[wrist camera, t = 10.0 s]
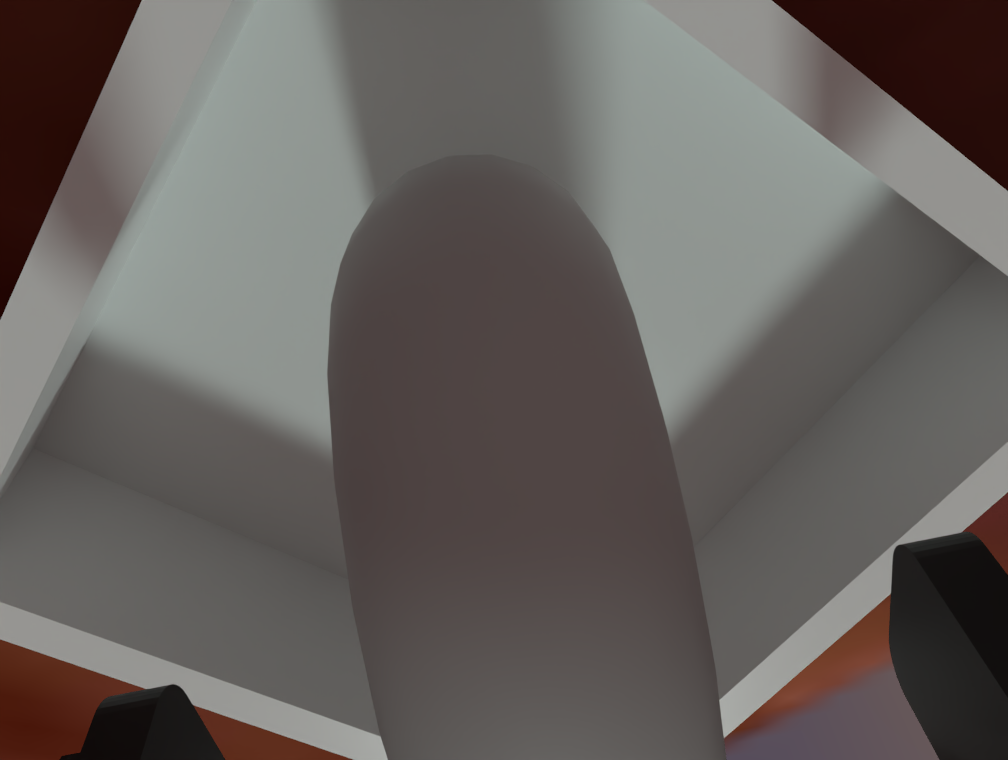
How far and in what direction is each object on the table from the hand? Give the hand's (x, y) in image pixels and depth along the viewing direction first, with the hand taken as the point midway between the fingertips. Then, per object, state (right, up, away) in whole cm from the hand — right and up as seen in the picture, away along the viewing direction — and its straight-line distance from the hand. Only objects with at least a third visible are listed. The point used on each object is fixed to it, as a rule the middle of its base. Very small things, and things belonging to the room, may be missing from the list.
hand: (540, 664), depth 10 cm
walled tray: (-1, +4, +7) cm, 8 cm away
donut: (0, +4, +6) cm, 7 cm away
